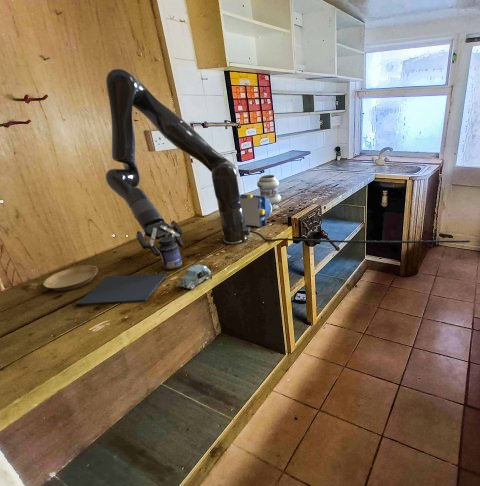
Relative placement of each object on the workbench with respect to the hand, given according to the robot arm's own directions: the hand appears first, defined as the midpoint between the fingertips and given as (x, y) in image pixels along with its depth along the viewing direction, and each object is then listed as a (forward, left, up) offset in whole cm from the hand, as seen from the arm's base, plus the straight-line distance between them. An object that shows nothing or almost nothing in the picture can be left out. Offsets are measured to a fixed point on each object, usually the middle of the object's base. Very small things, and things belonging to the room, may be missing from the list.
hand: (171, 250), depth 111 cm
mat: (+11, +13, -7) cm, 18 cm away
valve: (-23, -45, -7) cm, 51 cm away
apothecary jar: (-28, -66, -7) cm, 72 cm away
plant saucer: (+31, +7, -7) cm, 32 cm away
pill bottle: (+1, -1, -7) cm, 7 cm away
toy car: (-12, +12, -7) cm, 19 cm away
